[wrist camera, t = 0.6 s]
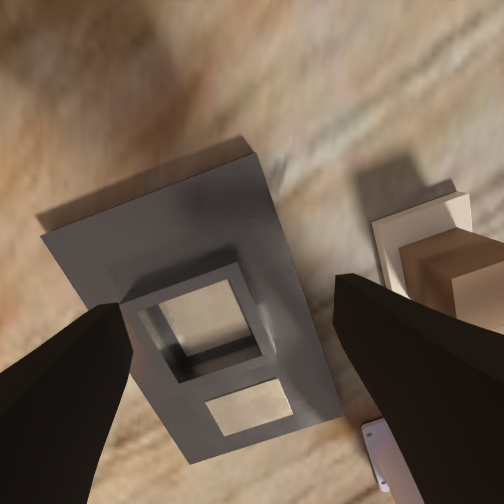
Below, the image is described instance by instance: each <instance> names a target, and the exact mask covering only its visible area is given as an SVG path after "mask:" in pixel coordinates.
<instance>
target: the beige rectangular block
mask: <svg viewBox="0 0 504 504" xmlns="http://www.w3.org/2000/svg"><path fill="white" fill-rule="evenodd" d="M371 223H372V227H373V231H374V236H375V240H376V245H377V249H378V254H379V258H380V263H381V267H382V272H383V276H384V281H385V285H386V288H387V289H389V290H392V291H394V292H396V293H398V294H400V295H402V296H404V297H406V298H409V297H408V294H407V289H406V284H405V279H404V273H403V268H402V263H401V258H400V253H399V247H402V246H405V245H408V244H410V243H413V242H416V241H419V240H422V239H425V238H427V237H430V236H433V235H436V234H439V233H442V232H444V231H447V230H450V229H453V228H456V227H458V228H461V229H464V230H467V231H470V232H473V231H472V220H471V210H470V199H469V193H464V192H459V191H457V192H454V193H451V194H448V195H446V196H443V197H440V198H437V199H435V200H432V201H429V202H426V203H423V204H421V205H418V206H415V207H412V208H410V209H407V210H404V211H401V212H399V213H396V214H393V215H390V216H387V217H385V218H382V219H379V220H376V221H374V222H371ZM409 299H410V298H409Z"/></svg>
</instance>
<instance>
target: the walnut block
mask: <svg viewBox="0 0 504 504" xmlns="http://www.w3.org/2000/svg"><path fill="white" fill-rule="evenodd" d="M399 253H400V258H401V263H402V268H403V273H404V279H405V284H406V289H407V294H408V297H409V298H410V299H411V300H413V301H415V302H418V303H420V304H422V305H424V306H427V307H429V308H432V309H434V310H436V311H439V312H441V313H444V314H446V315H449V316H451V317H454V318H456V319H459V320H462V321H465V322H467V323H470V324H473V325H476V326H479V327H482V328H485V329H488V330H492V329H495V328H498V327H501V326H504V243H502V242H499V241H496V240H493V239H490V238H487V237H484V236H481V235H478V234H475V233H473V232H470V231H467V230H464V229H461V228H458V227H456V228H453V229H450V230H447V231H444V232H442V233H439V234H436V235H433V236H430V237H427V238H425V239H422V240H419V241H416V242H413V243H410V244H408V245H405V246H402V247H399Z"/></svg>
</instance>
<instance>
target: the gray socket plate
mask: <svg viewBox="0 0 504 504" xmlns="http://www.w3.org/2000/svg"><path fill="white" fill-rule="evenodd" d="M40 237H41V238H42V240H43V241H44V243H45V244H46V246H47V247H48V249H49V251H50V252H51V254H52V255H53V257H54V258H55V260H56V261H57V263H58V264H59V266H60V267H61V269H62V270H63V272H64V273H65V275H66V276H67V278H68V280H69V281H70V283H71V284H72V286H73V287H74V289H75V290H76V292H77V293H78V295H79V296H80V298H81V299H82V301H83V302H84V304H85V306H86V307H87V309H88V310H90V309H92V308H94V307H95V306H97V305H99V304H107V303H115V302H118V303H119V307H120V310H121V313H122V316H123V319H124V323H125V326H126V329H127V332H128V335H129V338H130V342H131V345H132V348H133V351H134V352H133V357H132V362H131V367H130V371H129V373H130V374H131V376H132V377H133V379H134V380H135V382H136V383H137V385H138V386H139V388H140V389H141V391H142V393H143V394H144V396H145V397H146V399H147V400H148V402H149V403H150V405H151V406H152V408H153V409H154V411H155V412H156V414H157V415H158V417H159V418H160V420H161V422H162V423H163V425H164V426H165V428H166V429H167V431H168V432H169V434H170V435H171V437H172V438H173V440H174V441H175V443H176V444H177V446H178V447H179V449H180V451H181V452H182V454H183V455H184V457H185V458H186V460H187V461H188V463H189V464H190V465H191V464H194V463H197V462H200V461H203V460H206V459H209V458H213V457H216V456H219V455H222V454H225V453H228V452H231V451H235V450H238V449H241V448H244V447H247V446H250V445H253V444H256V443H260V442H263V441H266V440H269V439H272V438H275V437H278V436H282V435H285V434H288V433H291V432H294V431H297V430H300V429H303V428H307V427H310V426H313V425H316V424H319V423H322V422H325V421H328V420H332V419H335V418H338V417H341V416H344V415H345V413H344V410H343V407H342V404H341V401H340V399H339V396H338V393H337V390H336V387H335V384H334V381H333V378H332V375H331V372H330V369H329V366H328V363H327V360H326V357H325V354H324V351H323V348H322V345H321V342H320V340H319V337H318V334H317V331H316V328H315V325H314V322H313V319H312V316H311V313H310V310H309V307H308V304H307V301H306V298H305V295H304V292H303V289H302V286H301V283H300V280H299V278H298V275H297V272H296V269H295V266H294V263H293V260H292V257H291V254H290V251H289V248H288V245H287V242H286V239H285V236H284V233H283V230H282V227H281V224H280V221H279V219H278V216H277V213H276V210H275V207H274V204H273V201H272V198H271V195H270V192H269V189H268V186H267V183H266V180H265V177H264V174H263V171H262V168H261V165H260V162H259V160H258V157H257V154H256V153H252V154H249V155H247V156H244V157H242V158H239V159H237V160H234V161H231V162H229V163H226V164H224V165H221V166H218V167H216V168H213V169H211V170H208V171H206V172H203V173H200V174H198V175H195V176H193V177H190V178H187V179H185V180H182V181H180V182H177V183H174V184H172V185H169V186H167V187H164V188H162V189H159V190H156V191H154V192H151V193H149V194H146V195H143V196H141V197H138V198H136V199H133V200H131V201H128V202H125V203H123V204H120V205H118V206H115V207H112V208H110V209H107V210H105V211H102V212H99V213H97V214H94V215H92V216H89V217H87V218H84V219H81V220H79V221H76V222H74V223H71V224H68V225H66V226H63V227H61V228H58V229H56V230H53V231H51V232H48V233H46V234H44V235H41V236H40Z"/></svg>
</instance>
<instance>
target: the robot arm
mask: <svg viewBox="0 0 504 504" xmlns="http://www.w3.org/2000/svg"><path fill="white" fill-rule="evenodd" d="M333 326H334V328H335V331H336V333H337V335H338V338H339V340H340V342H341V345H342V347H343V349H344V351H345V353H346V355H347V356H348V358H349V360H350V361H351V363H352V365H353V366H354V368H355V370H356V372H357V373H358V375H359V377H360V378H361V380H362V382H363V383H364V385H365V387H366V388H367V390H368V392H369V393H370V395H371V397H372V398H373V400H374V402H375V403H376V405H377V407H378V408H379V410H380V412H381V413H382V415H383V417H384V418H382V419H379V420H375V421H372V422H369V423H366V424H364V425H362V427H361V431H362V434H363V437H364V440H365V444H366V447H367V450H368V453H369V456H370V459H371V462H372V465H373V469H374V472H375V475H376V478H377V481H378V484H379V487H380V489H381V491H383V492H387V491H391V493H392V495H393V498H394V500H395V502H396V504H504V335H503V334H500V333H497V332H494V331H491V330H488V329H485V328H482V327H479V326H476V325H473V324H470V323H467V322H465V321H462V320H459V319H456V318H454V317H451V316H449V315H446V314H444V313H441V312H439V311H436V310H434V309H432V308H429V307H427V306H424V305H422V304H420V303H418V302H415V301H413V300H411V299H409V298H406V297H404V296H402V295H400V294H398V293H396V292H394V291H392V290H389V289H387V288H385V287H383V286H381V285H379V284H377V283H375V282H373V281H370V280H368V279H366V278H364V277H361V276H359V275H356V274H354V273H351V274H343V275H335V294H334V313H333ZM133 352H134V351H133V348H132V345H131V342H130V338H129V335H128V332H127V329H126V326H125V323H124V319H123V316H122V313H121V310H120V307H119V303H118V302H115V303H107V304H99V305H97V306H95V307H94V308H92V309H90V310H89V311H88V312H86V313H85V314H83V315H82V316H80V317H79V318H78V319H76V320H75V321H73V322H72V323H71V324H69V325H68V326H67V327H65V328H64V329H63V330H61V331H60V332H58V333H57V334H56V335H54V336H53V337H52V338H50V339H49V340H47V341H46V342H45V343H43V344H42V345H41V346H39V347H38V348H36V349H35V350H33V351H32V352H31V353H29V354H28V355H26V356H25V357H23V358H22V359H20V360H19V361H17V362H16V363H14V364H13V365H12V366H10V367H9V368H7V369H6V370H4V371H3V372H1V373H0V504H87V501H88V497H89V493H90V489H91V485H92V482H93V478H94V474H95V471H96V468H97V465H98V462H99V459H100V456H101V453H102V450H103V447H104V445H105V442H106V439H107V436H108V434H109V431H110V428H111V425H112V423H113V420H114V417H115V414H116V412H117V409H118V406H119V403H120V400H121V398H122V395H123V392H124V389H125V386H126V383H127V380H128V376H129V371H130V367H131V362H132V357H133Z"/></svg>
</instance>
